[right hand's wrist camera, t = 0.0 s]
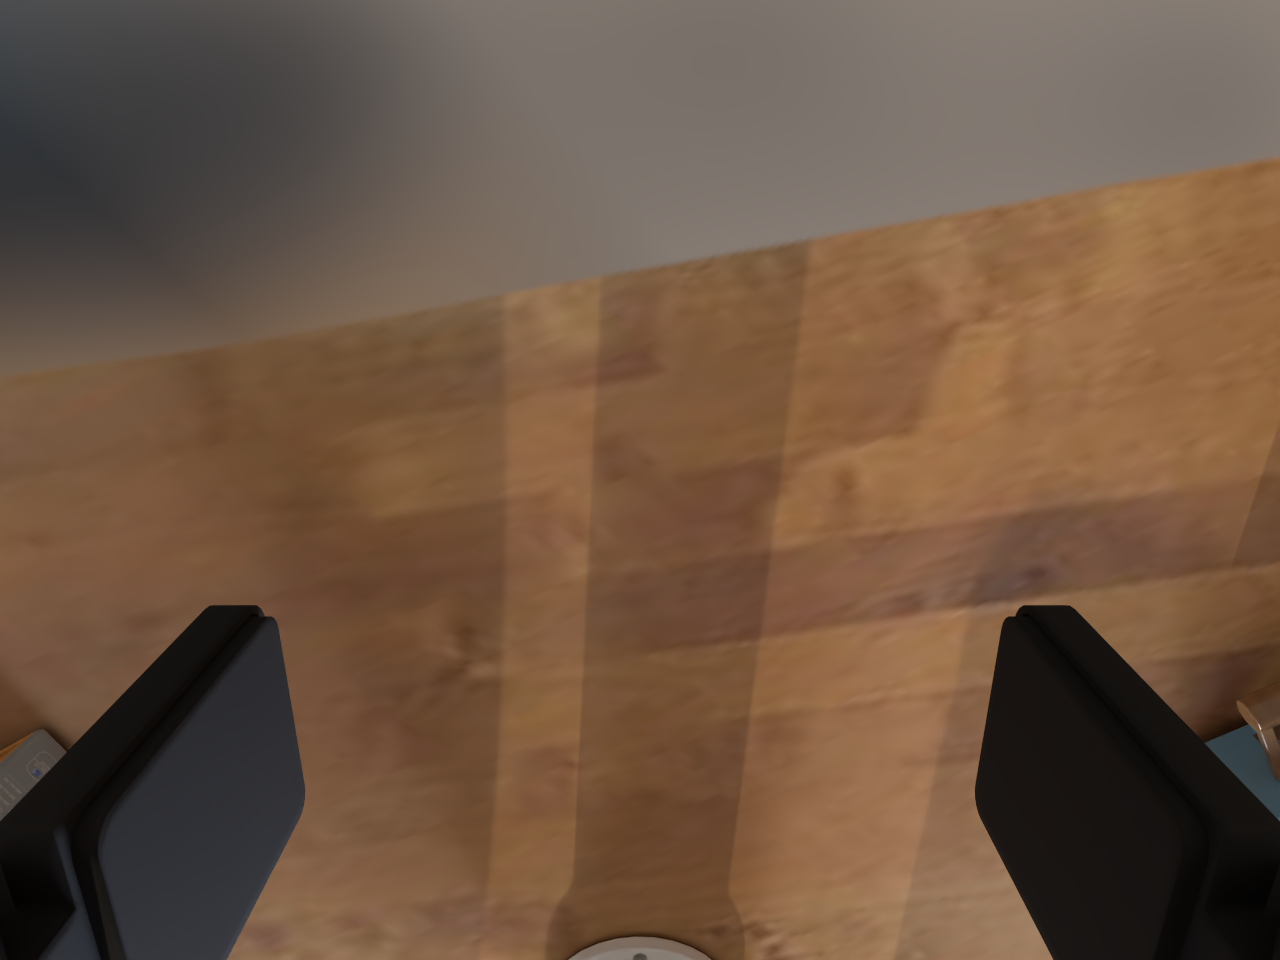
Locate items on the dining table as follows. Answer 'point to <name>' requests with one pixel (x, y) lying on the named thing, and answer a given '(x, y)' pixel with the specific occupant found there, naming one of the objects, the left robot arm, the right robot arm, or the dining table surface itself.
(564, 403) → the dining table surface
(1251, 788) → the drawer
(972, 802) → the dining table surface
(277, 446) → the dining table surface
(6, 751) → the hard drive box
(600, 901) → the dining table surface
